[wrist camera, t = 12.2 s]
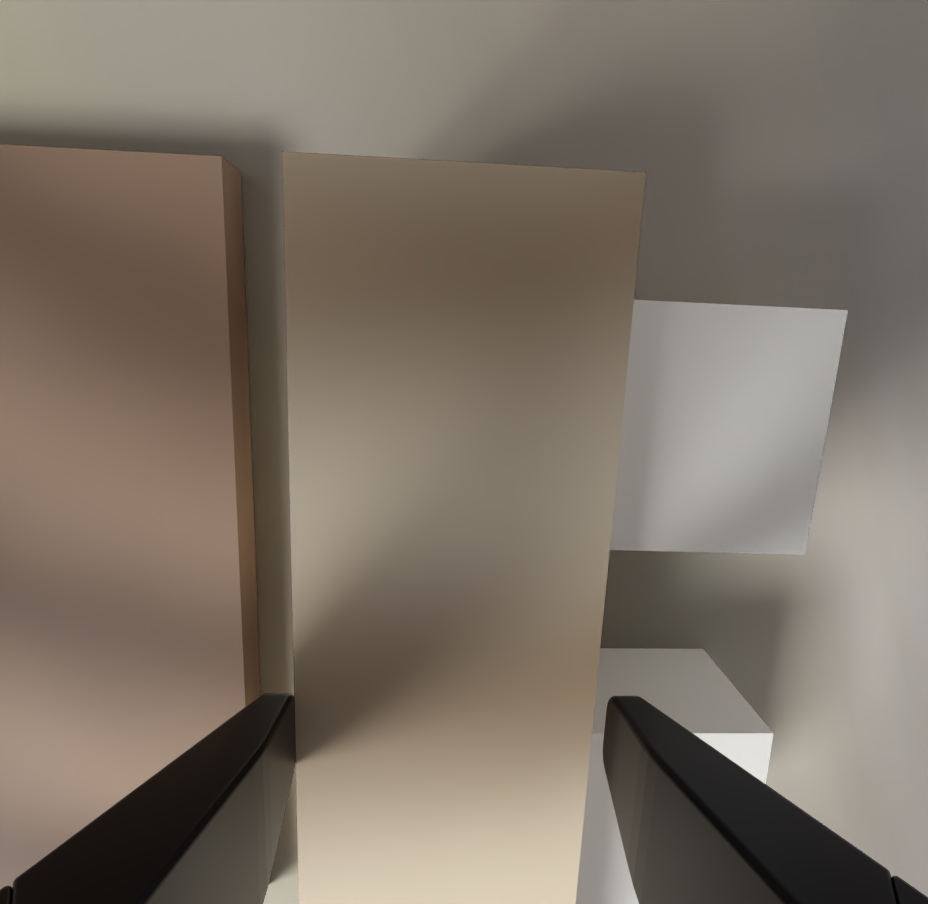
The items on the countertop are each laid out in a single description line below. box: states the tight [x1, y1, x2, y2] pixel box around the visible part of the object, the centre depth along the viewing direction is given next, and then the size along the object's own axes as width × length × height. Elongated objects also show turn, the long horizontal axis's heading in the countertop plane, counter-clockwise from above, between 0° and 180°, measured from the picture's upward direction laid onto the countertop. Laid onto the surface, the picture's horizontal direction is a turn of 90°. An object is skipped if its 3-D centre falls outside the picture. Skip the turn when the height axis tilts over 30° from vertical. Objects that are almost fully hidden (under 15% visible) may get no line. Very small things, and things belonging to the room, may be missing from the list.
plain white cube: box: [576, 648, 774, 904], centre depth 12 cm, size 4×4×3 cm
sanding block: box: [282, 151, 646, 904], centre depth 10 cm, size 14×4×5 cm, turn 178°
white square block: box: [610, 300, 848, 555], centre depth 11 cm, size 4×4×3 cm
